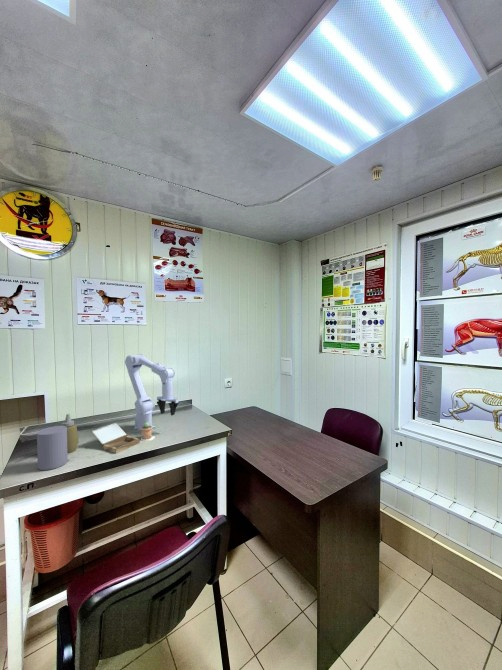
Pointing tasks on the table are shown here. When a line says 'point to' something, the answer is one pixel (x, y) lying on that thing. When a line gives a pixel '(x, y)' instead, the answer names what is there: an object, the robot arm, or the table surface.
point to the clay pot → (146, 431)
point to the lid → (108, 433)
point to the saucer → (148, 439)
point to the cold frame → (120, 443)
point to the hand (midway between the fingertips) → (167, 414)
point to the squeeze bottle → (71, 434)
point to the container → (52, 447)
